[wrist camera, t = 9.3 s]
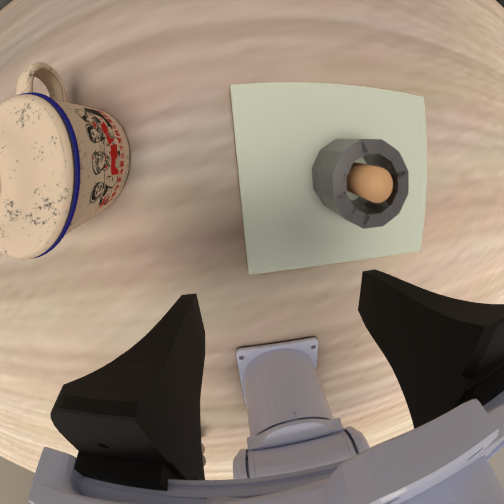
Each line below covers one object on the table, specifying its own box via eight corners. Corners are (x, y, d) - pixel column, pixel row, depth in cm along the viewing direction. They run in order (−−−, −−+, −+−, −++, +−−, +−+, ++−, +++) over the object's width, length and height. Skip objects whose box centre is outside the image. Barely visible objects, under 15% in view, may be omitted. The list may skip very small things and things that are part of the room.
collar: (379, 208, 20) (407, 223, 16) (314, 216, 20) (334, 232, 16) (377, 139, 18) (407, 140, 14) (309, 140, 18) (329, 139, 14)
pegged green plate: (414, 246, 23) (450, 271, 18) (247, 269, 22) (255, 306, 17) (416, 97, 18) (459, 93, 13) (229, 87, 17) (231, 67, 12)
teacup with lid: (144, 206, 19) (67, 274, 9) (53, 226, 19) (-36, 290, 8) (125, 58, 15) (42, -2, 4) (34, 96, 14) (-64, 90, 4)
